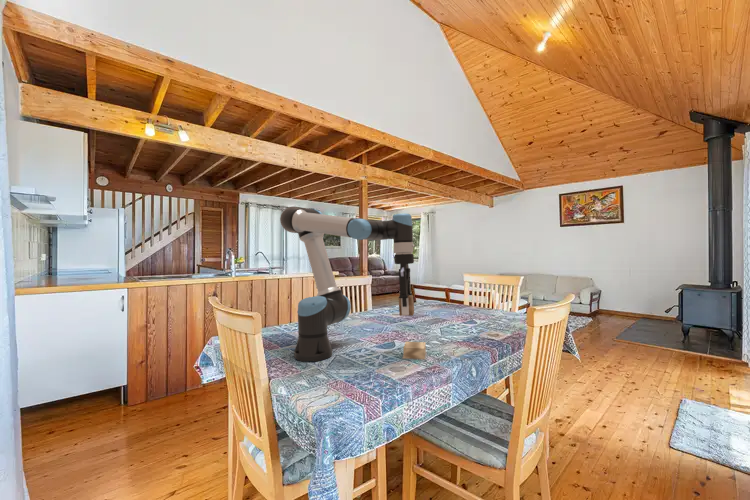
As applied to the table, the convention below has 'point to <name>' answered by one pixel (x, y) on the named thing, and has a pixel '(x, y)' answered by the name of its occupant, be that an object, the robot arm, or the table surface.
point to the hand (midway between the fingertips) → (406, 313)
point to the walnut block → (411, 306)
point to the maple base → (415, 350)
